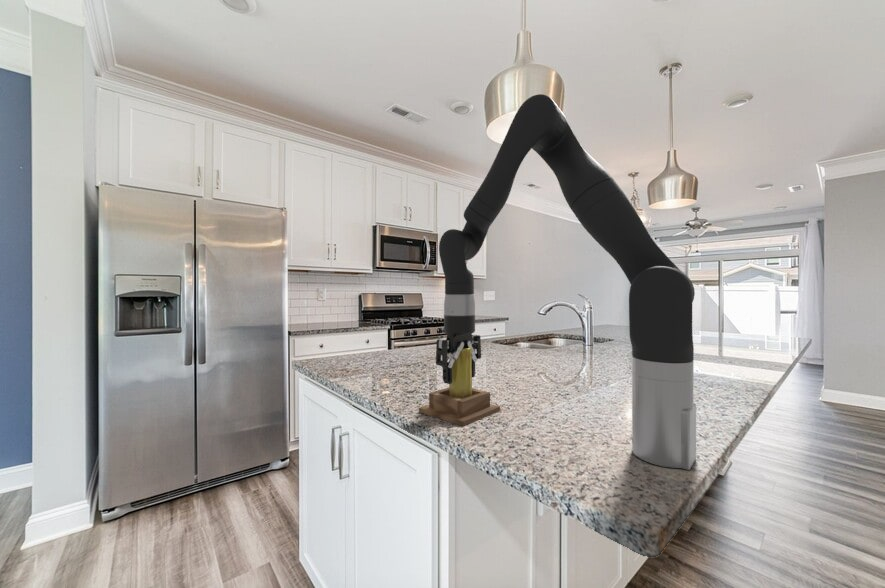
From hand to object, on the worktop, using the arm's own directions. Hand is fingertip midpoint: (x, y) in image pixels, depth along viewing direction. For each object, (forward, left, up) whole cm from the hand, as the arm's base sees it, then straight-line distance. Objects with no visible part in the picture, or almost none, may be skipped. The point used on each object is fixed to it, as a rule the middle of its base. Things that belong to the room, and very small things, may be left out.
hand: (459, 380), depth 89 cm
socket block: (0, 0, -8) cm, 8 cm away
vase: (0, 0, -7) cm, 7 cm away
